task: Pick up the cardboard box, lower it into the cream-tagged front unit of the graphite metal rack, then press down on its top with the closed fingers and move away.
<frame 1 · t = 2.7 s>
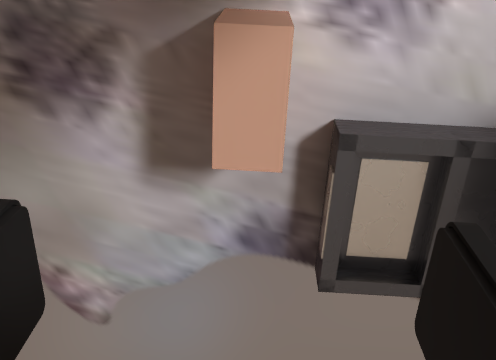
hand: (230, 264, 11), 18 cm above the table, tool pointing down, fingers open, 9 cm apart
rack: (431, 205, 31), on the table
cardboard box: (253, 73, 27), on the table
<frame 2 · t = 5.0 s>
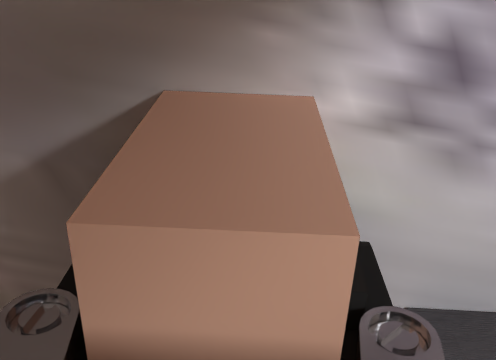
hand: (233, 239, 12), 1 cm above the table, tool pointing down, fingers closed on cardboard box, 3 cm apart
cardboard box: (235, 222, 13), on the table, touching gripper
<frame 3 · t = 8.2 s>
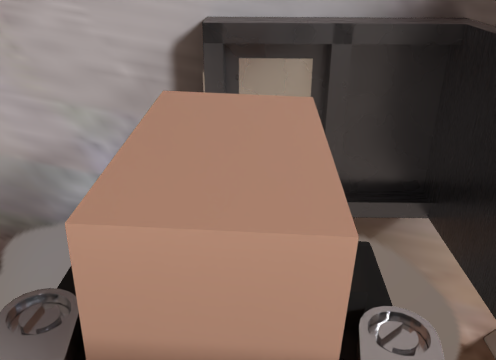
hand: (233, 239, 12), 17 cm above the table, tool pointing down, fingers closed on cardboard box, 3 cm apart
rack: (328, 115, 28), on the table
cardboard box: (234, 222, 13), point 16 cm above the table, touching gripper
when the fingers open (4 cm above the table, at t = 11.4 s): cardboard box drops 2 cm, resting on rack.
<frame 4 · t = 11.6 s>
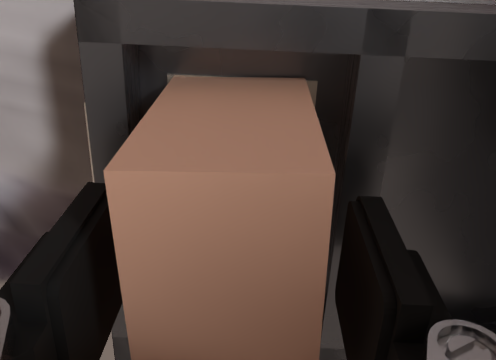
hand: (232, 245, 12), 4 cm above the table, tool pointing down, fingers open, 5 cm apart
rack: (342, 183, 15), on the table
cardboard box: (239, 194, 14), point 1 cm above the table, touching rack
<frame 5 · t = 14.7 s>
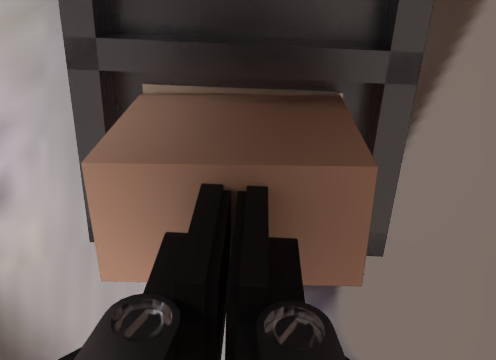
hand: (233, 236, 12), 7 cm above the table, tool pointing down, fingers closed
rack: (244, 46, 17), on the table
cardboard box: (240, 141, 17), point 1 cm above the table, touching gripper, rack
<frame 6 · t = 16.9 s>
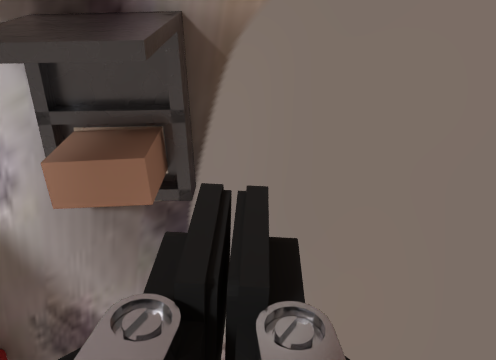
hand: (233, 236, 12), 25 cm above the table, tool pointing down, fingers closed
rack: (119, 107, 37), on the table
cardboard box: (121, 150, 37), point 1 cm above the table, touching rack
strawberry: (3, 350, 49), on the table
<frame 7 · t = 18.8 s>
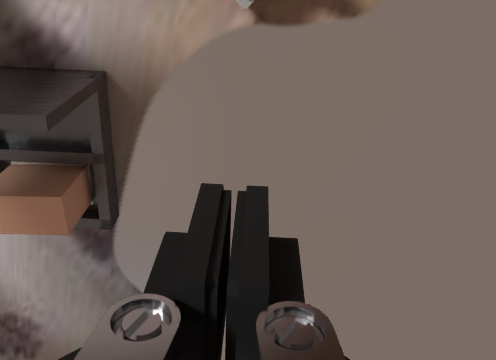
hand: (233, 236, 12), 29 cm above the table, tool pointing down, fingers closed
rack: (52, 145, 43), on the table
cardboard box: (52, 182, 43), point 1 cm above the table, touching rack
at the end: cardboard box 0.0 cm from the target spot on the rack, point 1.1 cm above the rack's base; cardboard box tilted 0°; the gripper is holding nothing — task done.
